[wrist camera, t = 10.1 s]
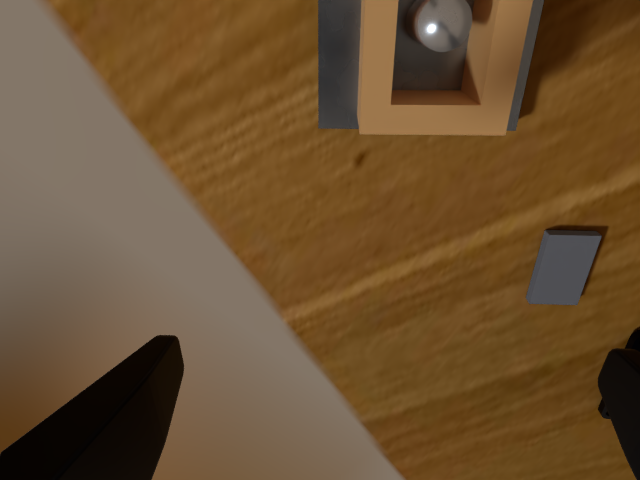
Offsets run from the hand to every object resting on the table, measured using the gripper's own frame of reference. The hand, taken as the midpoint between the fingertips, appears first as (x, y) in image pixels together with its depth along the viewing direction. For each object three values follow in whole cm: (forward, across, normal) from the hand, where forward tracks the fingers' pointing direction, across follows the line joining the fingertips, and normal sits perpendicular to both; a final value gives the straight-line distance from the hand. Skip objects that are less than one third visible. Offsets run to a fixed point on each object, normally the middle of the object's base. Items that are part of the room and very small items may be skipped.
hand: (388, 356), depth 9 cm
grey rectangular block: (+12, -10, +5) cm, 16 cm away
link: (+11, -2, -6) cm, 13 cm away
